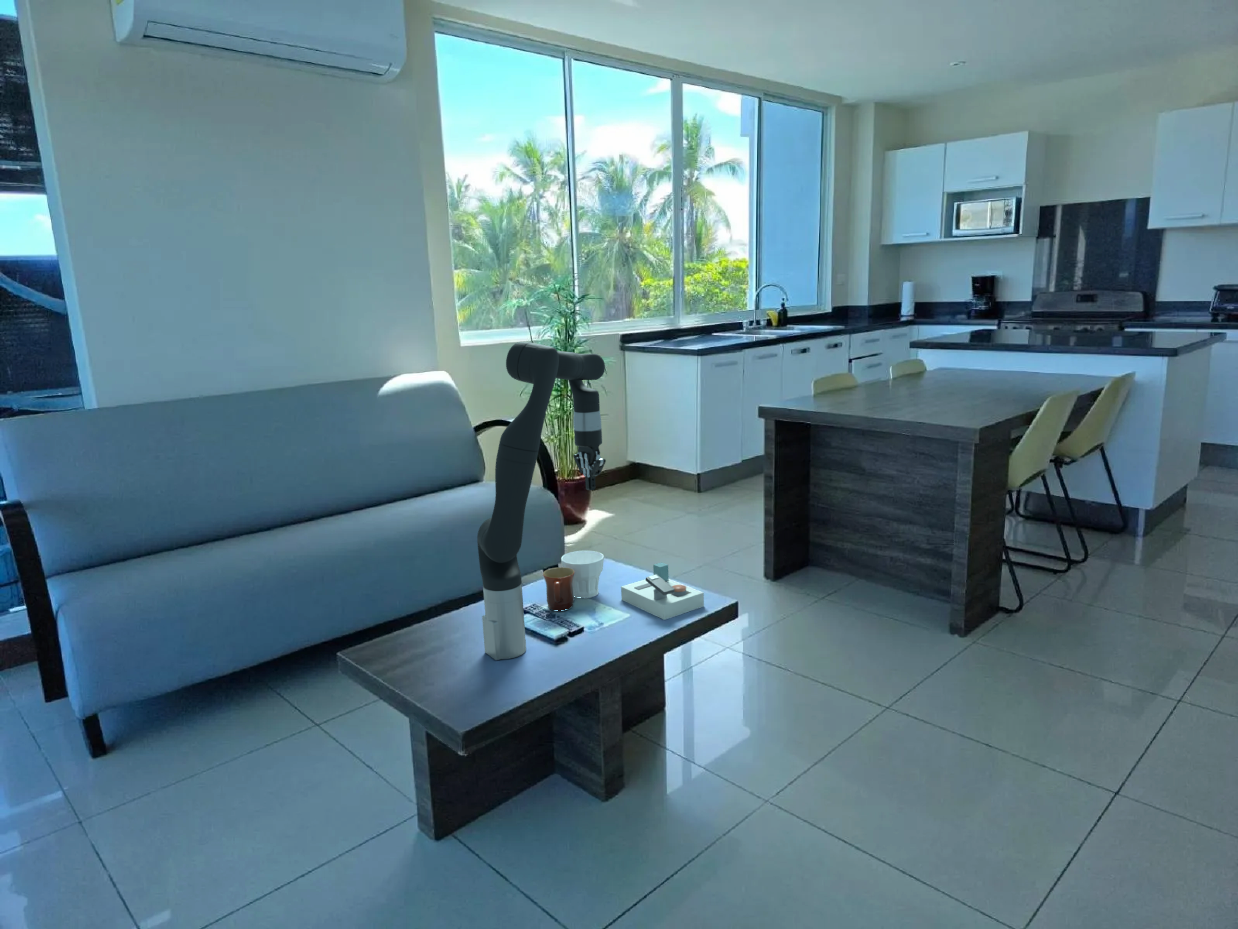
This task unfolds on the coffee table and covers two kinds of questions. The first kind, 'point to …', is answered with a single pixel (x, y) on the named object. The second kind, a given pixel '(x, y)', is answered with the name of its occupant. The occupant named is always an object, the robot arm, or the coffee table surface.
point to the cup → (584, 571)
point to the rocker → (660, 584)
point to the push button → (679, 590)
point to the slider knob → (661, 570)
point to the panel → (661, 599)
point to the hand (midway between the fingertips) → (590, 489)
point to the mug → (559, 588)
